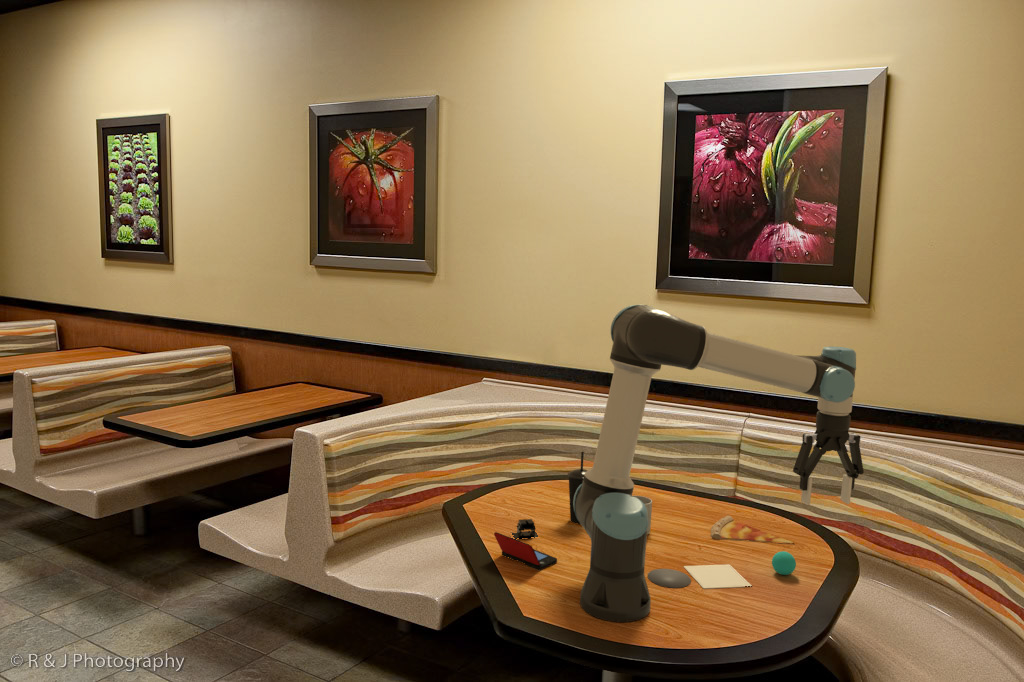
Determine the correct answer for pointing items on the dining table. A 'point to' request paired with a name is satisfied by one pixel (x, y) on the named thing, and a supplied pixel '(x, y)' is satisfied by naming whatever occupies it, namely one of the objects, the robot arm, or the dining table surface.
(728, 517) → the pizza slice
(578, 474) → the drinking cup
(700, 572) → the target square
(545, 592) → the dining table surface
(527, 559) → the handheld game console
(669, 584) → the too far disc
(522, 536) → the black boxy piece
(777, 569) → the ball
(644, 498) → the cup
